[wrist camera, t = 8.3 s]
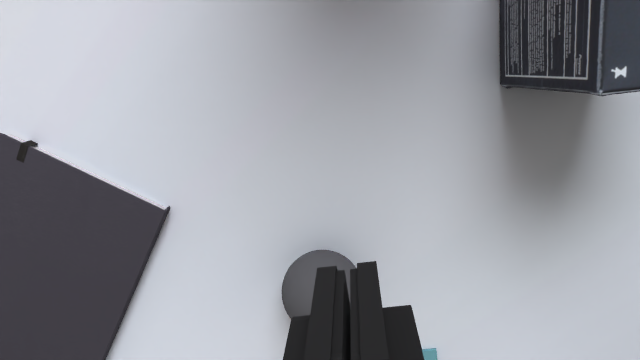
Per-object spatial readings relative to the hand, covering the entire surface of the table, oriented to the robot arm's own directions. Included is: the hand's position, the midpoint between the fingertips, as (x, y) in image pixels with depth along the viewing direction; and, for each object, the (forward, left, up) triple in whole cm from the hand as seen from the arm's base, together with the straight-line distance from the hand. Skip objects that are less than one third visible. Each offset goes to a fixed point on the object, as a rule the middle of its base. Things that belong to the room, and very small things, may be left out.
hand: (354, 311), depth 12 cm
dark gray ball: (+3, +8, -15) cm, 17 cm away
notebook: (+24, +6, -19) cm, 31 cm away
